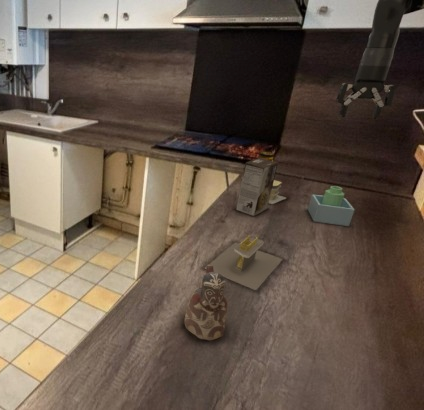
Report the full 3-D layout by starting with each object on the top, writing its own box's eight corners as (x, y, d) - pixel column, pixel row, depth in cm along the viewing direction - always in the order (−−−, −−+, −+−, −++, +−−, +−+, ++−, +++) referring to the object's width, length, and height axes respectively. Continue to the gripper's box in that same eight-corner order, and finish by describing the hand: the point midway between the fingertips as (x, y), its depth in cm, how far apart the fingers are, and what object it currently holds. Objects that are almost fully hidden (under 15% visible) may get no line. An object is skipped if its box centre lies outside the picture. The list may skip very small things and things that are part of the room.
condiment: (272, 185, 138) (279, 155, 133) (249, 184, 138) (255, 154, 134) (265, 179, 144) (271, 150, 140) (243, 178, 145) (249, 149, 140)
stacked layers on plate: (262, 190, 133) (265, 176, 131) (286, 197, 126) (290, 183, 124) (247, 196, 128) (250, 181, 125) (272, 204, 121) (276, 189, 119)
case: (340, 214, 114) (345, 198, 112) (348, 226, 106) (354, 209, 104) (307, 209, 117) (312, 194, 115) (313, 221, 109) (318, 204, 107)
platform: (204, 268, 85) (208, 244, 82) (235, 242, 96) (240, 220, 94) (255, 290, 77) (262, 264, 74) (282, 259, 89) (289, 235, 86)
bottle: (334, 214, 113) (343, 186, 109) (338, 220, 109) (348, 191, 105) (317, 211, 114) (325, 184, 111) (320, 218, 110) (329, 189, 106)
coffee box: (249, 203, 122) (258, 157, 115) (267, 209, 117) (279, 161, 111) (235, 209, 116) (244, 162, 110) (254, 216, 112) (265, 167, 105)
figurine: (185, 336, 64) (194, 281, 59) (182, 310, 71) (190, 259, 66) (227, 342, 63) (239, 286, 58) (220, 315, 69) (231, 263, 65)
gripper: (351, 64, 108) (335, 118, 115) (408, 65, 104) (388, 121, 111) (344, 63, 115) (329, 114, 121) (397, 64, 111) (379, 117, 117)
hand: (357, 117), depth 116 cm, fingers open, 8 cm apart
